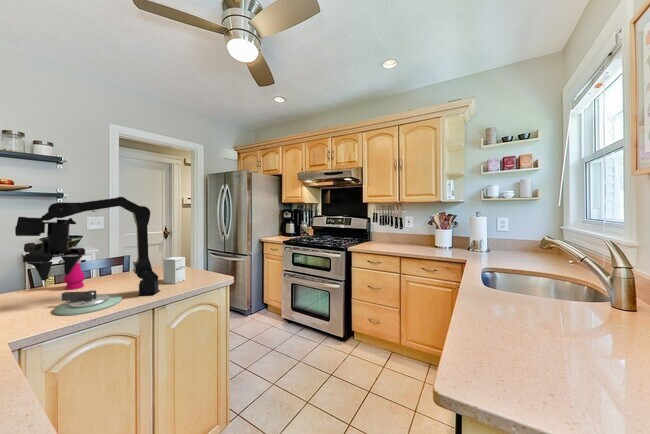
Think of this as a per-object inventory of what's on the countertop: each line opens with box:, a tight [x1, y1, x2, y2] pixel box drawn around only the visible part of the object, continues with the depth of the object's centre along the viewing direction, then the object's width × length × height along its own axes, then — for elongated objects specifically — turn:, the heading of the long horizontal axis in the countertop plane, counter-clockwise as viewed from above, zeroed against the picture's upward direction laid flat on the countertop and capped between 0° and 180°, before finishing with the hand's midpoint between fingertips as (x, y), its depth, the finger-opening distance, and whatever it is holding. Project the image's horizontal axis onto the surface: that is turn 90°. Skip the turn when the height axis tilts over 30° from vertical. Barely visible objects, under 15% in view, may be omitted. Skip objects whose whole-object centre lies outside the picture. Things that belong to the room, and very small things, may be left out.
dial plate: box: [53, 293, 123, 317], centre depth 103 cm, size 20×20×1 cm
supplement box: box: [162, 256, 186, 285], centre depth 135 cm, size 7×7×13 cm
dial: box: [61, 289, 109, 308], centre depth 103 cm, size 16×12×4 cm
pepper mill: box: [63, 246, 86, 291], centre depth 124 cm, size 7×7×20 cm
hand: (55, 277), depth 97 cm, fingers open, 9 cm apart
